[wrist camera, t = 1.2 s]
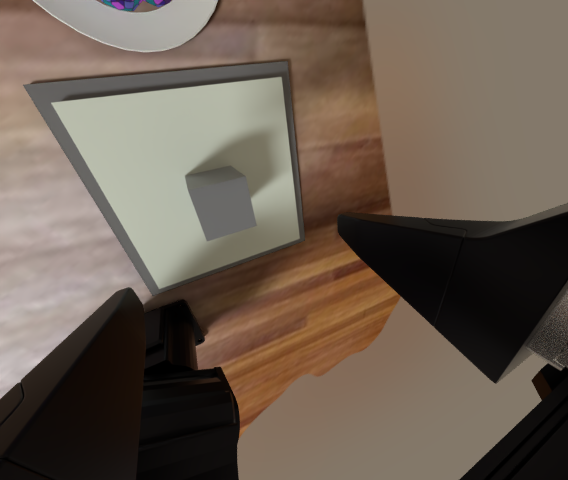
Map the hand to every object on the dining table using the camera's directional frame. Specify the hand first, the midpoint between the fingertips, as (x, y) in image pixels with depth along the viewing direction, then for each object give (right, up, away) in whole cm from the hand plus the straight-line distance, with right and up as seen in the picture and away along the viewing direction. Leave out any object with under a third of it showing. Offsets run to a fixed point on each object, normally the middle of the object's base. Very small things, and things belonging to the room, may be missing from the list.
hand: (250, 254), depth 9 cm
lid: (-4, +5, +9) cm, 11 cm away
